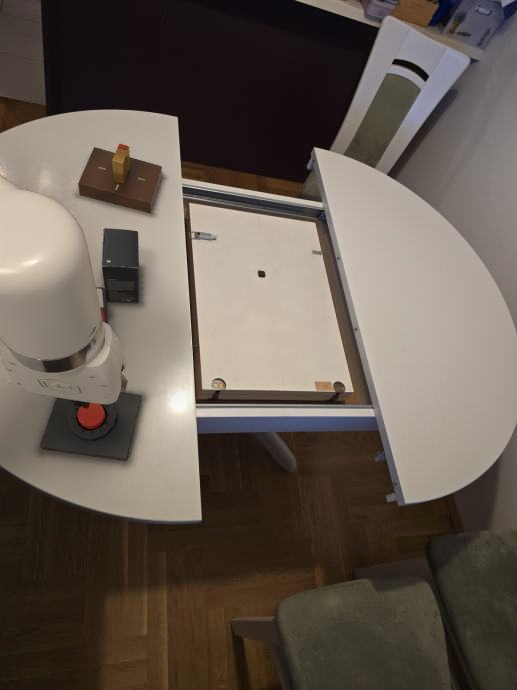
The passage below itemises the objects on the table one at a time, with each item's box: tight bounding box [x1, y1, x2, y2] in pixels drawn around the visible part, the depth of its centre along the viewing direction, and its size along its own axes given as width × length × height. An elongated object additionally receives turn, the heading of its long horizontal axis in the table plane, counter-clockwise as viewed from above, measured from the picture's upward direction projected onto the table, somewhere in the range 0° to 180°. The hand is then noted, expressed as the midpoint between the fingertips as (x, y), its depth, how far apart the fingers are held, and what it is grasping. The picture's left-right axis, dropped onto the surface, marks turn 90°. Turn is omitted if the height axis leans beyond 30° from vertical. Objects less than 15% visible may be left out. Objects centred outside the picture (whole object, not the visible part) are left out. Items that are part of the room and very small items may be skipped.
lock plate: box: [77, 146, 163, 214], centre depth 81 cm, size 14×11×3 cm
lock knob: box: [112, 143, 131, 184], centre depth 77 cm, size 5×2×5 cm, turn 174°
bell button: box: [77, 403, 105, 429], centre depth 57 cm, size 4×4×2 cm
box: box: [101, 227, 140, 304], centre depth 67 cm, size 8×6×11 cm
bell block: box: [39, 391, 142, 462], centre depth 59 cm, size 12×10×4 cm
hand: (85, 395), depth 48 cm, fingers closed
